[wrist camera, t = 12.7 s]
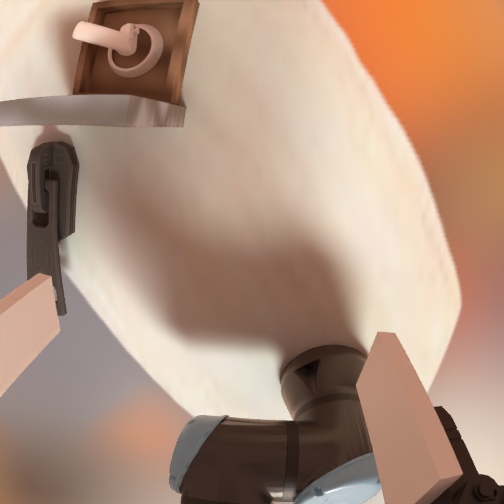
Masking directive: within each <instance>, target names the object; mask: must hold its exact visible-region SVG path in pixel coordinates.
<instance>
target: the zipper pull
mask: <svg viewBox="0 0 504 504" xmlns="http://www.w3.org/2000/svg"><path fill="white" fill-rule="evenodd" d="M78 171H79V163H78V159H77V156H76V153H75V149H74V147H72V146H70V145H68V144H65V143H63V142H48V143H43V144H41V145H39V146H37V147H35V148H34V149H32V150H31V153H30V157H29V161H28V164H27V172H28V181H29V184H28V207H27V281H28V280H29V279H31V278H32V277H34V276H35V275H36V274H38V273H41V274H45V275H49V276H52V284H53V286H54V287H55V289H56V292H57V301H55V304H56V310H57V316H62V315H63V316H64V315H65V314H66V313H67V311H66V304H65V298H64V291H63V285H62V277H61V268H60V258H59V247H58V242H59V241H61V240H63V239H64V238H66V237H68V236H69V235H71V234H73V233H74V232H75V212H76V194H77V181H78Z"/></svg>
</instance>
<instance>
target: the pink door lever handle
mask: <svg viewBox="0 0 504 504" xmlns="http://www.w3.org/2000/svg"><path fill="white" fill-rule="evenodd" d="M139 28H141V29H143V30H145V31H146V32H147V33H148V34H149V35H150V38H151V49H150V52H149V54H148V55H147V57H146V58H145V59H144V61H142V62H141V63H140V64H139V65H137V66H135V67H133V68H127V69H124V68H120V67H118V66H116V65H115V64H114V62H113V60H112V50H113V49H114V50H116V51H117V52H118V53H119V54H121V55H123V56H129V55H132V54H134V53H135V51H136V48H137V36H138V34H139V32H140V30H139ZM73 38H74V39H76V40H80V41H84V42H88V43H92V44H95V45H99V46H103V47H107V48H109V49H108V61H109V64H110V66H111V68H112V69H113V71H114V72H115V73H116V74H118V75H120V76H122V77H126V78H134V77H138V76H141V75H143V74H145V73H147V72H148V71H150V70H151V69H152V68H153V67H154V66H155V65H156V63H157V62H158V60H159V59H160V57H161V54H162V51H163V39H162V36H161V34H160V32H159V31H158V30H157V29H156V28H155V27H153V26H151V25H148V24H132V23H128V24H125V25H124V26H122V27H121V29H120V31H117V30H113V29H110V28H107V27H104V26H100V25H97V24H93V23H89V22H85V21H80V22H79V23H78V24H77V25H76V27H75V29H74V32H73Z"/></svg>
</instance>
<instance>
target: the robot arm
mask: <svg viewBox="0 0 504 504" xmlns="http://www.w3.org/2000/svg"><path fill="white" fill-rule="evenodd" d="M59 332H60V326H59V321H58V316H57V310H56V304H55V298H54V292H53V284H52V276H49V275H45V274H41V273H38V274H36V275H35V276H34V277H32V278H31V279H29V280H28V281H26V282H25V283H24V284H22V285H21V286H19V287H18V288H16V289H15V290H14V291H12V292H11V293H10V294H8V295H7V296H5V297H4V298H3V299H1V300H0V397H1V396H2V395H3V393H4V392H5V391H6V390H7V389H8V387H9V386H10V385H11V384H12V383H13V382H14V381H15V379H16V378H17V377H18V376H19V375H20V374H21V373H22V372H23V371H24V369H25V368H26V367H27V366H28V365H29V364H30V363H31V362H32V361H33V360H34V358H35V357H36V356H37V355H38V354H39V353H40V352H41V351H42V350H43V349H44V348H45V347H46V346H47V344H48V343H49V342H50V341H51V340H52V339H53V338H54V337H55V336H56V335H57V334H58V333H59ZM281 393H282V397H283V400H284V402H285V404H286V406H287V408H288V410H289V412H290V415H291V417H292V419H293V421H286V420H260V419H246V418H234V417H229V416H228V415H224V416H207V415H200V416H196V417H194V418H192V419H191V420H190V421H189V422H188V423H187V424H186V426H185V427H184V428H183V430H182V432H181V434H180V436H179V438H178V441H177V443H176V446H175V449H174V452H173V456H172V460H171V464H170V477H169V484H170V487H171V489H172V490H174V491H176V492H177V493H182V496H181V504H275V503H276V502H294V504H362V503H364V502H366V501H368V500H369V499H371V498H372V497H373V496H375V495H376V494H377V493H378V492H379V491H380V490H381V489H382V492H383V496H384V501H385V504H504V486H499V485H498V484H497V483H496V482H495V480H494V479H492V478H491V477H489V476H487V475H482V474H480V475H479V473H478V472H477V470H476V468H475V465H474V463H473V461H472V458H471V456H470V454H469V452H468V450H467V447H466V445H465V443H464V441H463V440H462V439H461V435H460V433H459V431H458V430H457V427H456V425H455V423H454V421H453V419H452V417H451V415H450V414H449V413H447V411H446V410H445V409H444V408H443V407H442V406H438V407H433V405H432V403H431V401H430V399H429V397H428V395H427V393H426V391H425V389H424V387H423V385H422V383H421V381H420V379H419V377H418V375H417V373H416V371H415V369H414V367H413V365H412V363H411V362H410V360H409V358H408V356H407V354H406V352H405V350H404V348H403V347H402V345H401V343H400V341H399V339H398V337H397V336H396V334H395V333H389V332H377V335H376V337H375V340H374V342H373V345H372V347H371V350H370V352H369V355H368V357H367V359H366V357H365V356H364V355H363V354H361V353H360V352H359V351H357V350H355V349H352V348H349V347H345V346H336V345H333V346H323V347H318V348H315V349H312V350H309V351H307V352H305V353H303V354H301V355H299V356H298V357H296V358H295V359H294V360H292V361H291V362H290V363H289V365H288V366H287V367H286V369H285V370H284V372H283V375H282V378H281Z"/></svg>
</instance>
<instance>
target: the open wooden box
mask: <svg viewBox="0 0 504 504" xmlns="http://www.w3.org/2000/svg"><path fill="white" fill-rule="evenodd" d="M198 8H199V3H198V1H197V0H111V1H104V2H97V3H93V5H92V8H91V12H90V15H89V19H88V22H89V23H93V24H97V25H100V26H104V27H107V28H110V29H113V30H117V31H120V29H121V27H122V26H124V25H125V24H128V23H132V24H148V25H151V26H153V27H155V28H156V29H157V30H158V31H159V32H160V34H161V36H162V39H163V51H162V54H161V57H160V59H159V60H158V62H157V63H156V65H155V66H154V67H153V68H152V69H151V70H150V71H148V72H147V73H145V74H143V75H141V76H138V77H134V78H126V77H122V76H120V75H118V74H116V73H115V72H114V71H113V69H112V68H111V66H110V64H109V61H108V49H109V48H107V47H103V46H99V45H95V44H92V43H88V42H84V41H83V43H82V47H81V52H80V57H79V61H78V67H77V72H76V77H75V83H74V89H73V95H67V96H50V97H37V98H27V99H17V100H9V101H2V102H0V126H19V125H93V126H115V127H183V123H184V117H185V110H186V107H182V106H178V105H179V99H180V93H181V88H182V82H183V77H184V72H185V67H186V62H187V57H188V52H189V47H190V43H191V38H192V33H193V29H194V25H195V21H196V16H197V12H198ZM139 30H140V32H139V34H138V36H137V48H136V51H135V53H134V54H132V55H129V56H123V55H121V54H119V53H118V52H117V51H116V50H114V49H113V50H112V60H113V62H114V64H115V65H116V66H118V67H120V68H124V69H127V68H133V67H135V66H137V65H139V64H140V63H141V62H142V61H144V59H145V58H146V57H147V55H148V54H149V52H150V49H151V38H150V35H149V34H148V33H147V32H146V31H145V30H143V29H141V28H139ZM174 104H176V105H174Z"/></svg>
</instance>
